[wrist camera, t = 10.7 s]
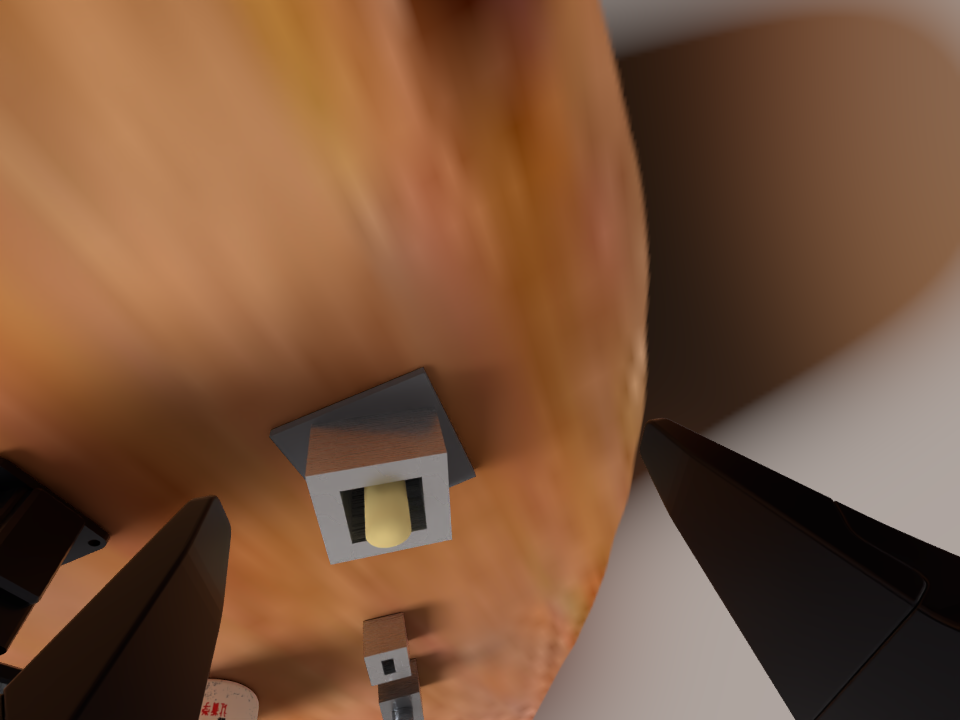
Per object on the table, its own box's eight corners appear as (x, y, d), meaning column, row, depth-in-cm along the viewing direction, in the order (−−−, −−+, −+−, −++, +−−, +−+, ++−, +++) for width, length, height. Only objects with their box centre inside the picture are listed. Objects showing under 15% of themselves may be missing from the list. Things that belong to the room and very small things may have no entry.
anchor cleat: (420, 687, 39) (428, 757, 35) (384, 697, 38) (388, 769, 34) (415, 658, 36) (423, 730, 32) (377, 668, 35) (380, 742, 31)
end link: (440, 488, 26) (451, 539, 23) (333, 508, 25) (330, 564, 22) (434, 405, 23) (446, 452, 20) (311, 423, 22) (304, 476, 19)
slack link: (408, 641, 35) (411, 675, 33) (370, 650, 34) (371, 686, 32) (403, 612, 32) (406, 647, 30) (363, 621, 32) (363, 657, 30)
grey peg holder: (347, 523, 26) (347, 610, 22) (270, 430, 22) (250, 516, 18) (474, 470, 27) (497, 545, 22) (423, 367, 22) (440, 437, 18)
